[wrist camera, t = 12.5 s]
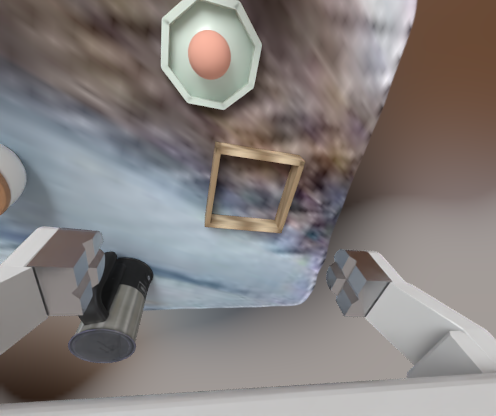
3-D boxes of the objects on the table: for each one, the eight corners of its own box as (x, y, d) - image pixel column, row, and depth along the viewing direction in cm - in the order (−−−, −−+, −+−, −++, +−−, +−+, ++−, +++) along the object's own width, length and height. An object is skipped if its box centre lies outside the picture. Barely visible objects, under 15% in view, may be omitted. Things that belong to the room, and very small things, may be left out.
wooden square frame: (205, 217, 44) (204, 226, 42) (215, 141, 37) (215, 147, 35) (277, 223, 47) (281, 233, 45) (299, 155, 40) (305, 161, 38)
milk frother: (162, 279, 51) (148, 351, 38) (99, 306, 53) (65, 384, 40) (116, 231, 43) (79, 302, 31) (43, 265, 45) (-20, 345, 32)
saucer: (161, 96, 33) (159, 98, 31) (164, -19, 27) (161, -24, 26) (247, 112, 36) (249, 115, 34) (266, 11, 30) (269, 9, 28)
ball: (189, 73, 32) (183, 76, 28) (193, 26, 29) (186, 21, 25) (227, 82, 32) (226, 85, 28) (234, 37, 30) (234, 34, 26)
